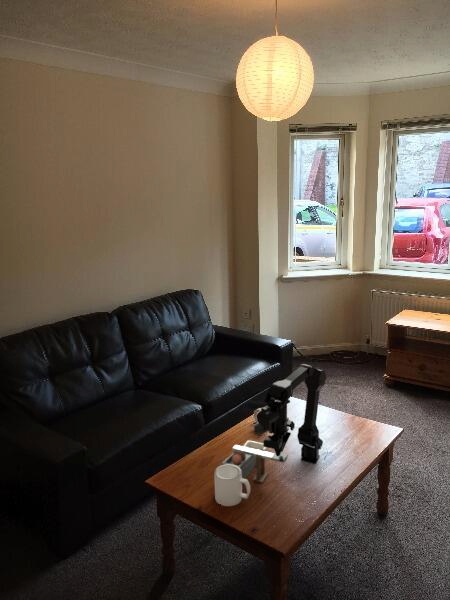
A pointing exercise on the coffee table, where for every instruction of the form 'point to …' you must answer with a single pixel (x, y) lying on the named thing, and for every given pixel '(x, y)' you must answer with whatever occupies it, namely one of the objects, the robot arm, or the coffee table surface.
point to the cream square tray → (255, 445)
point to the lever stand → (260, 469)
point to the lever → (253, 452)
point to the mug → (229, 485)
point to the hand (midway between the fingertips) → (279, 453)
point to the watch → (256, 420)
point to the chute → (243, 464)
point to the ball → (236, 458)
